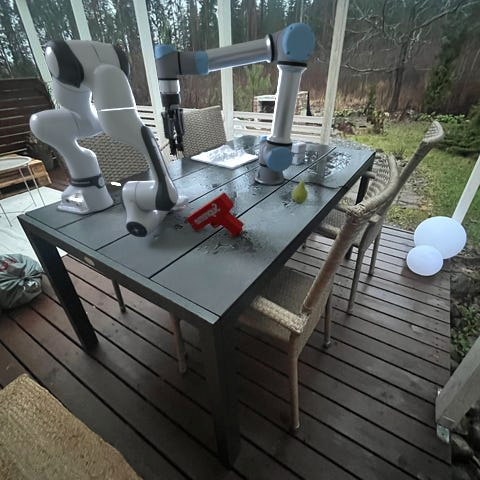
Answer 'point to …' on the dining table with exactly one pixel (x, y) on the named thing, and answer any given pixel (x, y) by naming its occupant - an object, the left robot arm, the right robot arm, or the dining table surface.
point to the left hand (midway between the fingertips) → (169, 194)
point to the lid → (179, 144)
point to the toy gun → (216, 216)
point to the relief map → (226, 157)
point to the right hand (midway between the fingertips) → (177, 152)
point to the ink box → (298, 152)
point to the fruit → (300, 192)
